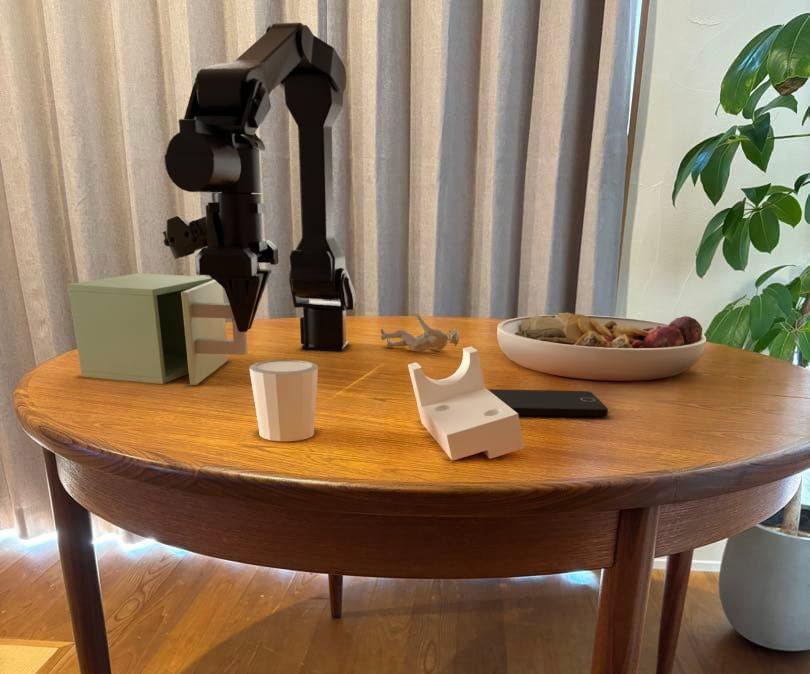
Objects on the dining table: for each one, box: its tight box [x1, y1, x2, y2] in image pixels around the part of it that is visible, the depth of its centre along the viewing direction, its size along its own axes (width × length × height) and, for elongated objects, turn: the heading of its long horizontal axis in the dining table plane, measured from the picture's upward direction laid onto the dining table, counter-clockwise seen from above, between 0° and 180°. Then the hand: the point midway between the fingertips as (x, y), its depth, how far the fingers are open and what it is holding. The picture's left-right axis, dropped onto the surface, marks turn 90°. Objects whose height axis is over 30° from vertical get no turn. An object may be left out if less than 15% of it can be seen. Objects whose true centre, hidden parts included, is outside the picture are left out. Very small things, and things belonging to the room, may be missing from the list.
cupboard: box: [67, 272, 214, 385], centre depth 103 cm, size 12×16×12 cm
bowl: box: [496, 311, 707, 382], centre depth 113 cm, size 30×30×8 cm
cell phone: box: [487, 388, 609, 418], centre depth 90 cm, size 9×18×1 cm, turn 91°
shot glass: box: [249, 359, 319, 442], centre depth 78 cm, size 7×7×7 cm
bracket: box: [407, 345, 525, 461], centre depth 77 cm, size 13×7×8 cm, turn 12°
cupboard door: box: [181, 280, 248, 386], centre depth 101 cm, size 7×16×11 cm, turn 177°
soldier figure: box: [380, 313, 460, 353], centre depth 120 cm, size 8×5×12 cm
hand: (244, 330), depth 95 cm, fingers closed on cupboard door, 2 cm apart
